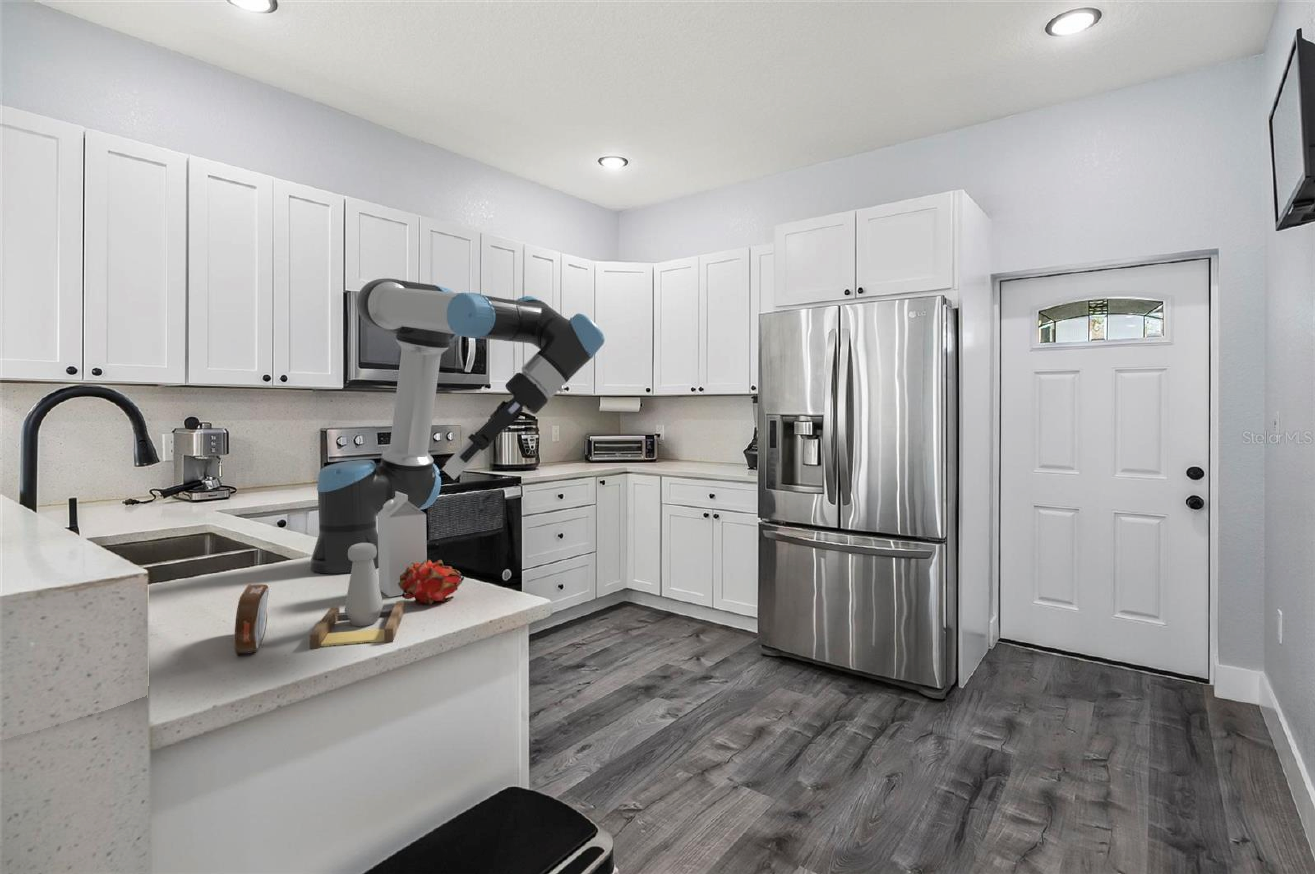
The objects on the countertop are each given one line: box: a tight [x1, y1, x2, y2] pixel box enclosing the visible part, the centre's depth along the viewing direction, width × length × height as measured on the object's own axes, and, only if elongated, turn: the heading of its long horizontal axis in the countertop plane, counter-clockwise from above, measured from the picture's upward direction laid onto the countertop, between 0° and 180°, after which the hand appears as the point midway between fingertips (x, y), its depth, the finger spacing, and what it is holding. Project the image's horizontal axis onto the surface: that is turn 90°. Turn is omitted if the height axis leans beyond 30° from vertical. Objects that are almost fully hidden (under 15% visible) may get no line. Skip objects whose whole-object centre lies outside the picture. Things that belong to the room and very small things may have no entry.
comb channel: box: [309, 600, 405, 650], centre depth 107 cm, size 15×11×2 cm
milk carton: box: [377, 492, 428, 598], centre depth 129 cm, size 7×7×19 cm
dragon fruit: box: [398, 559, 465, 605], centre depth 122 cm, size 8×8×12 cm
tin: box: [234, 583, 269, 655], centre depth 100 cm, size 15×3×8 cm, turn 24°
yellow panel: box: [320, 628, 385, 647], centre depth 103 cm, size 5×9×1 cm, turn 105°
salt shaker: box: [344, 543, 384, 627], centre depth 110 cm, size 6×6×13 cm
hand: (449, 471), depth 118 cm, fingers open, 13 cm apart
